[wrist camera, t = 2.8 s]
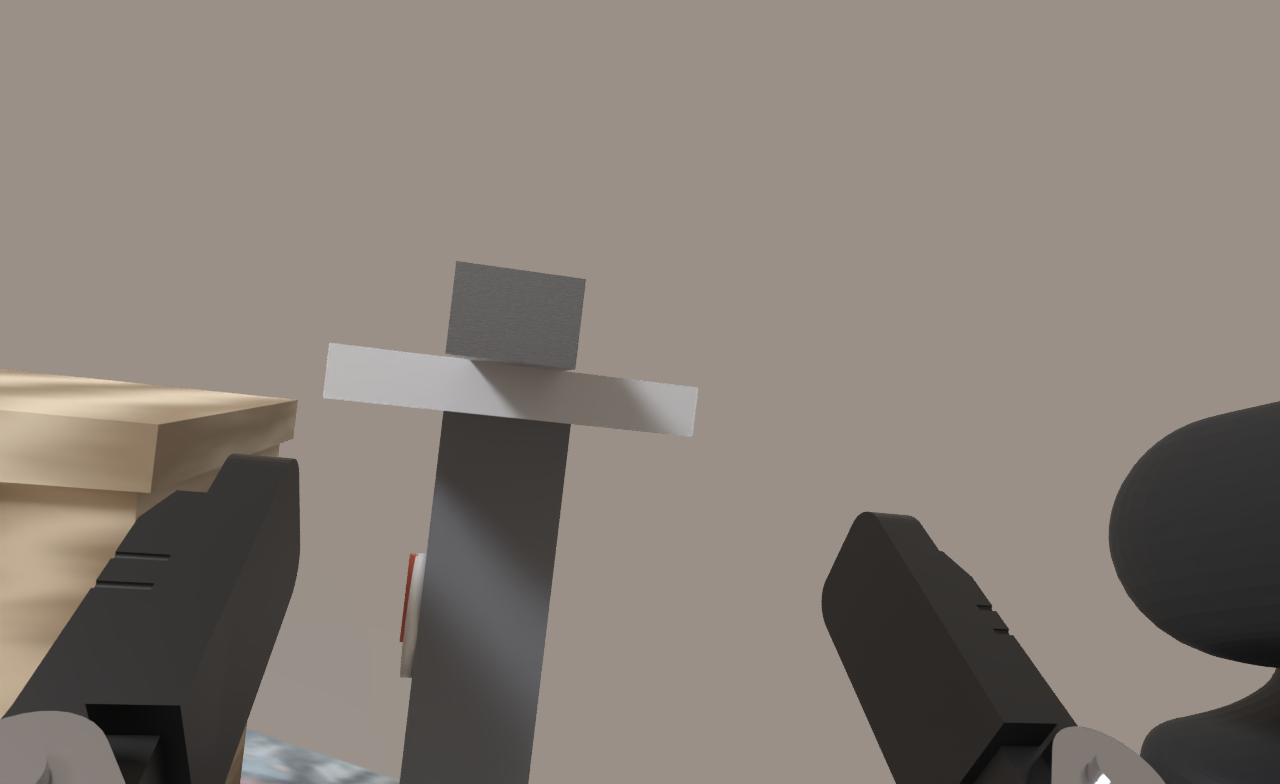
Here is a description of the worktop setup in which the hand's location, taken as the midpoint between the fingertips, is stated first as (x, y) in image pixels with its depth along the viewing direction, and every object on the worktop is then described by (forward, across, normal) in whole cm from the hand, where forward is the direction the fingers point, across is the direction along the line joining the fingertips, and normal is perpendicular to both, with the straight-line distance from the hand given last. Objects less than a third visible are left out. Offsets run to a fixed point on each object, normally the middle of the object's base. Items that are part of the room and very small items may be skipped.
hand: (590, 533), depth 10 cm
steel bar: (+20, 0, +9) cm, 22 cm away
